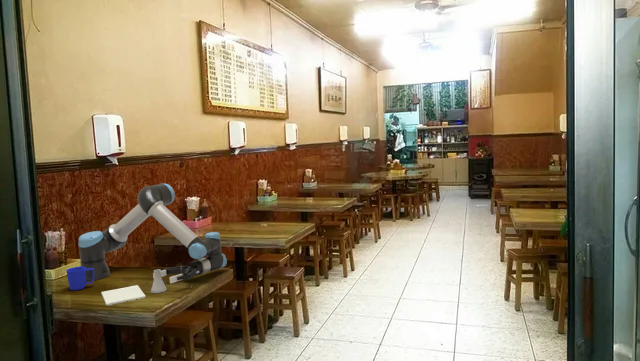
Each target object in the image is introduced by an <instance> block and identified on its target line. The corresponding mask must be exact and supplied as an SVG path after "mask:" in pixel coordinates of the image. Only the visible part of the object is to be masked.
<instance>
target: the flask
mask: <svg viewBox="0 0 640 361" xmlns="http://www.w3.org/2000/svg"><path fill="white" fill-rule="evenodd" d="M160 271H162V270H161V269H159V268H158V269H154V270H153V273H155V276H154V279H153V282H152V285H151V290H150V292H151V294H160V293H164V292H166V291H168V289H167V287H166V285H165V283H164V280H163V278H162V277H161V273H160Z"/></svg>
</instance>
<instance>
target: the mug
mask: <svg viewBox="0 0 640 361" xmlns="http://www.w3.org/2000/svg"><path fill="white" fill-rule="evenodd" d="M87 270H93V278H92V281H89V282H88V281H86V271H87ZM66 276H67V281H68V287H69V289H70V291H79V290H83V289H85V287H86V285H90V284H93V283H94V281H95V280H94V268H89V269H85V267H80V266H73V267H70V268H68V269H66Z"/></svg>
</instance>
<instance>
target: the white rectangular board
mask: <svg viewBox="0 0 640 361" xmlns="http://www.w3.org/2000/svg"><path fill="white" fill-rule="evenodd" d="M101 297H102V298H103V300H104V303H105V305H106V306H107V307H109V306H112V305H113V306H114V305H117V304H121V303H126V302H127V301H128V302H132V301H136V299H137V300H142V299H146V298H145V297H146V295H145V293H144V292H143V290H142V289H141V288H140V286H139V284H136V285H131V286H126V287H122V288H116V289H111V290H105V291H101ZM141 298H142V299H141Z"/></svg>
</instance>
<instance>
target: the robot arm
mask: <svg viewBox="0 0 640 361" xmlns="http://www.w3.org/2000/svg"><path fill="white" fill-rule="evenodd" d="M175 197H176V195H175V190H174V188H173V187H172V186H171V185H170V184H168V183H159V184H153V185H148V186H147V185H146V186H144V187H143V188H141V189H140V191H139V192H138V195H137V203H138V204H137V205H135V207H133V208H132V209H131V210H130V211H129V212H128V213H127V214H125V215H124V217H122V218H121V219H120V220H119V221H118V222H117V223H113V224H111V225H110V226H108V227H107V228H106V229H105V230H103V231H101V230H96V231H89V232H86V233H83V234H81V235H80V236H79V237H78V244H77V245H78V248H79V249H78V251H79V260H80V266H79V267H85V269H89V268H94V280H93V281H96V280H101V279H105V278H107V277H109V276H111V271H110V269H109V265H108V264H107V262H106V256H105V254H107V253H110V252H113V251H117V250H119V249H122V248H123V247H124V246H125V245H126V243H127V240H128V237H129V235H130V234H131V233H132V232H133V231H134V230H136V228H137V227H139V226H140V225H141V224H142V223H143V222H144V221H145V220H147V219H148V218H149V217H153V218H154V219H155V220H156V221H157V222H158V223H159V224H161V226H163V227H164V228H165V229H166V230H167V231H168V232H169V233H170V234H171V235H173V237H175V238H176V239H177V240H178V241H179V242H180V243H181V244H182V245H184V247H186V248H187V249H188V255H189V257H191V259H193V261H190V262H189V264H188V265H185V266H184V264H182V265H178V266H171V267H166V268H165V267H163V270H161V271H160V273H161V278H162V277H167V276H168V275H172V276H170V277H169V283H170V284H174V283H176V282H177V283H178V282H179V281H183V280H188V281H189V280H191V279H192V278H194V277H197V276H201V275H206V273H210V272H213V271H217V270H220V269H223V268H224V267H226V266H227V263H228V262H227V260H228V259H227V258H226V255H225V254H224V253H222V244H221V243H222V242H221V240H222V239H221V234H220V232H217V231H211V232H207V233H205V235H204V239H203V240H202V238H200V237H199V236H198V235H197V234H196V233H195V232H193V231H192V229H191V228H189V227H188V226H187V225H186V224H185V223H184V222H183V221H182V220H181V219H179V218H178V217H177V216H176V215H175V214H174V213H173V212H172V211H171V210H170V209H169V208H167V207H166V206H169V205H171V204H172V203H173V202H174V201H175ZM174 274H175V275H174ZM154 276H155V273H154V272H153V273H152V277H153V280H154ZM92 278H93V270H87V271H86V282H91V281H92Z"/></svg>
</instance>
